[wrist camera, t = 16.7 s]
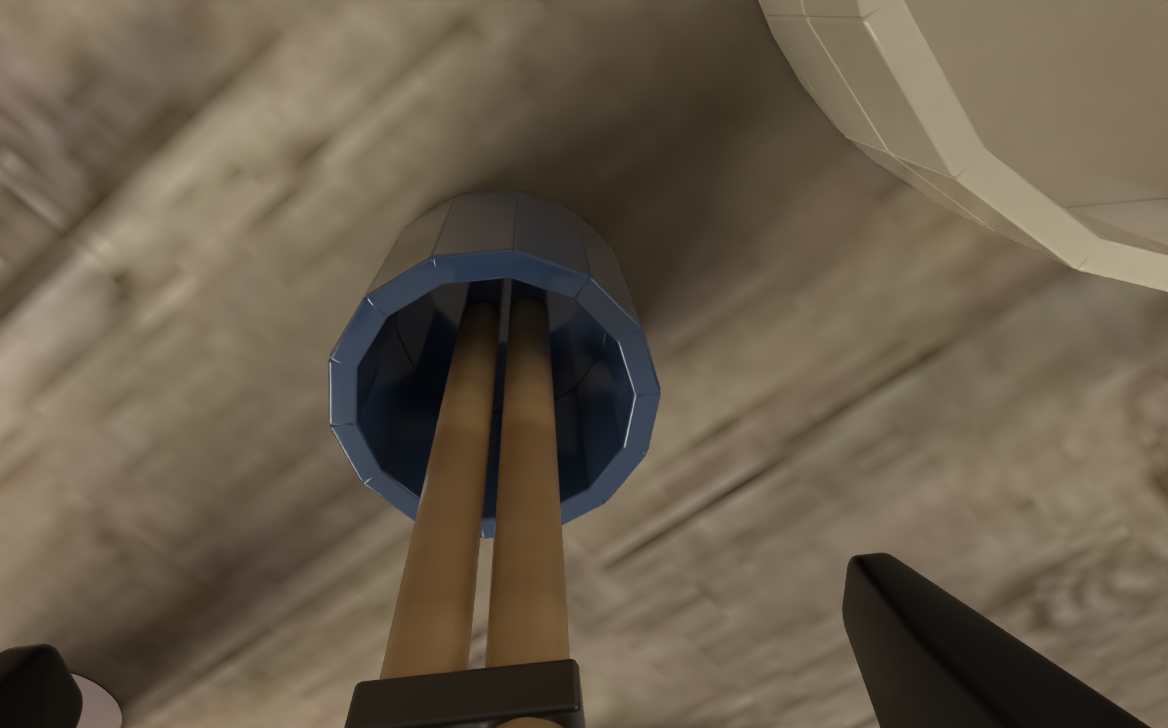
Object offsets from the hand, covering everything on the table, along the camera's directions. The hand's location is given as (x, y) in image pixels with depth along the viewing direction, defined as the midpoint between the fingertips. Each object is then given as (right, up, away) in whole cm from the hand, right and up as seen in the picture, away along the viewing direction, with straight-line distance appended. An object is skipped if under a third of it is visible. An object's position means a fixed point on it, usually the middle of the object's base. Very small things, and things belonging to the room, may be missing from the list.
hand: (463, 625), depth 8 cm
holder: (0, +4, +9) cm, 10 cm away
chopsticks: (0, +4, +8) cm, 9 cm away
